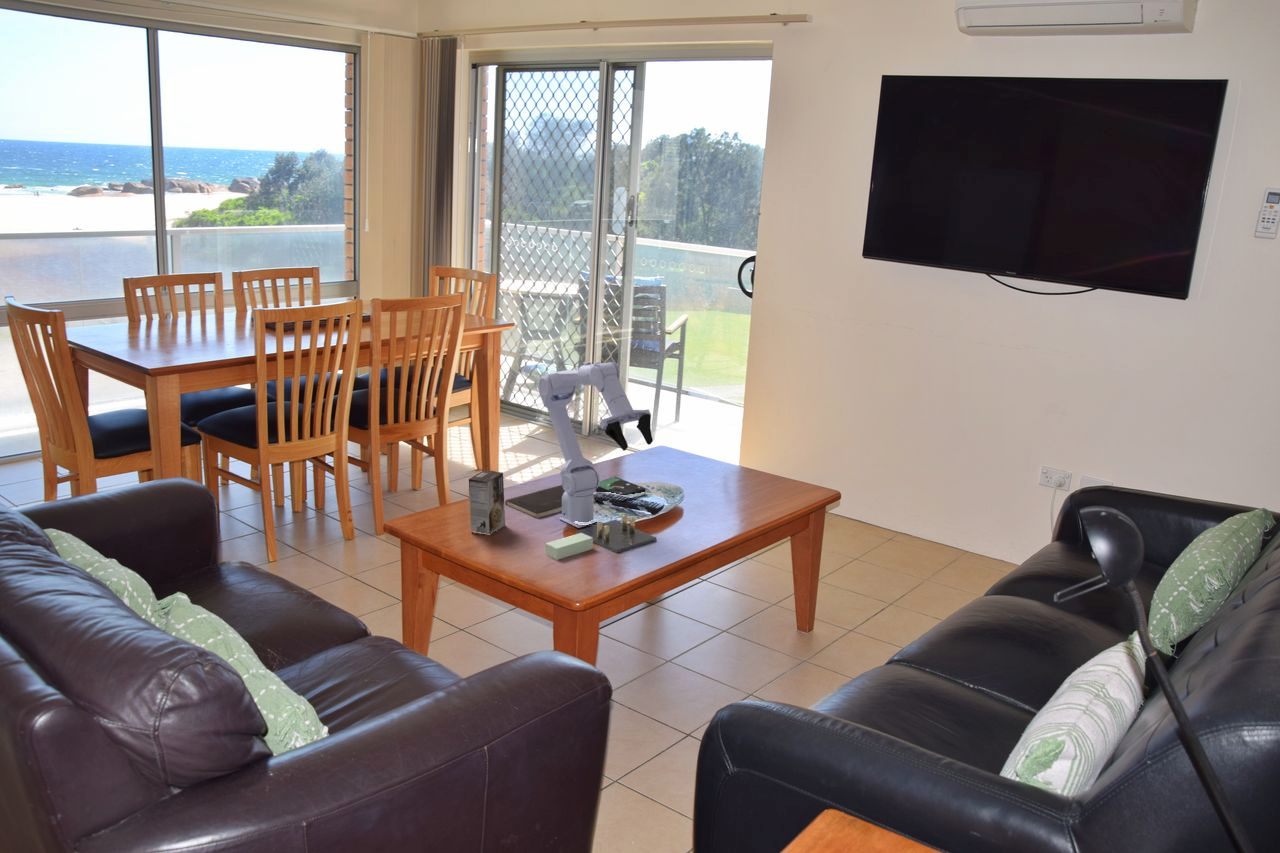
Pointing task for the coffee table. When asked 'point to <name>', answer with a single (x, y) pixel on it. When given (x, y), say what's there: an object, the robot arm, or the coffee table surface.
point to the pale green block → (569, 546)
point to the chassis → (617, 535)
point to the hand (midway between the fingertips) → (638, 445)
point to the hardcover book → (539, 502)
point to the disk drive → (619, 487)
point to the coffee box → (487, 501)
